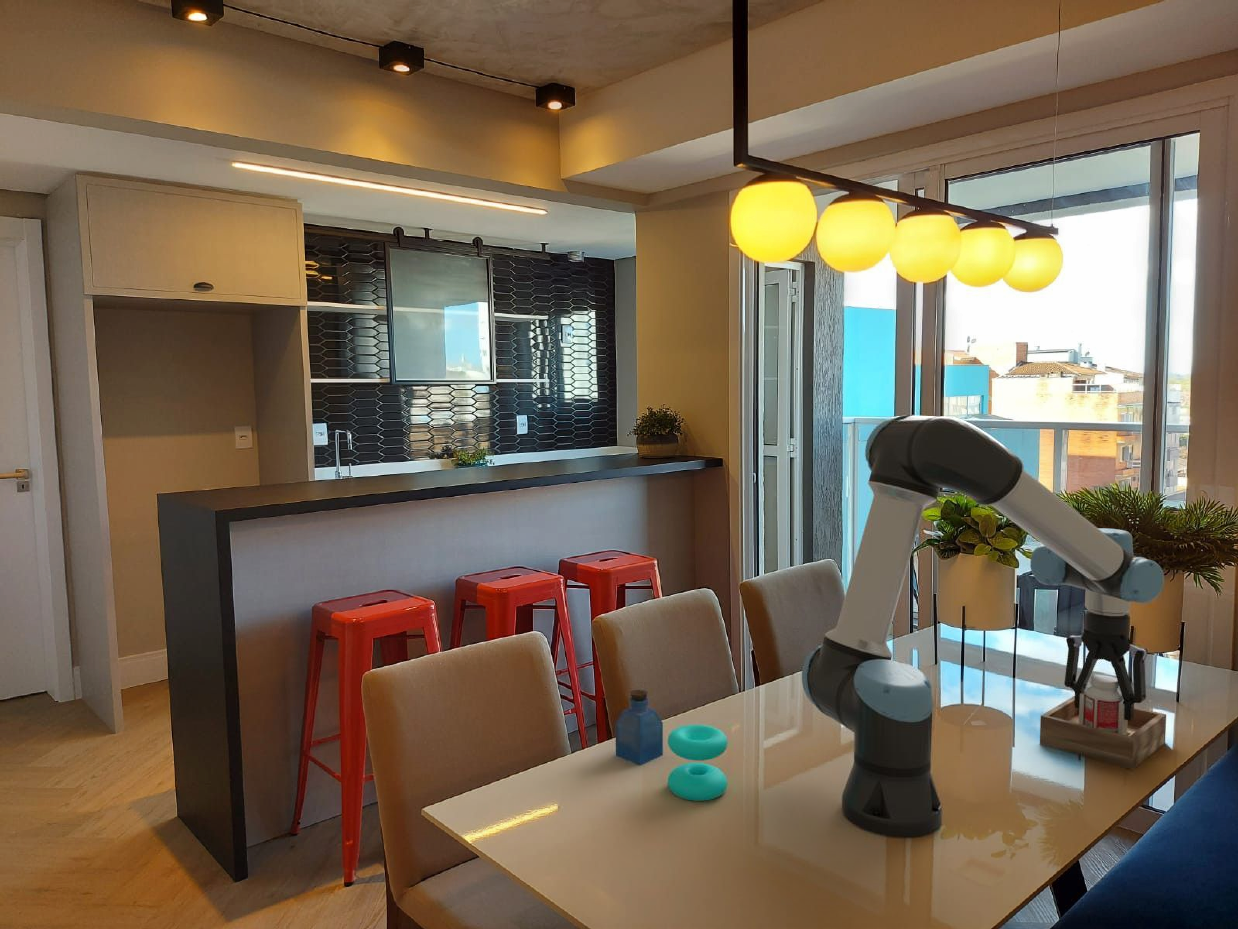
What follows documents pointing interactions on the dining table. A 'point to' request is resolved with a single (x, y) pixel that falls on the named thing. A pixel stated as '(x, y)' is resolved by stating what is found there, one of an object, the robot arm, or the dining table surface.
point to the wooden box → (1103, 735)
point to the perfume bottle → (639, 731)
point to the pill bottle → (1103, 703)
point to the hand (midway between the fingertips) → (1102, 730)
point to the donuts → (697, 777)
